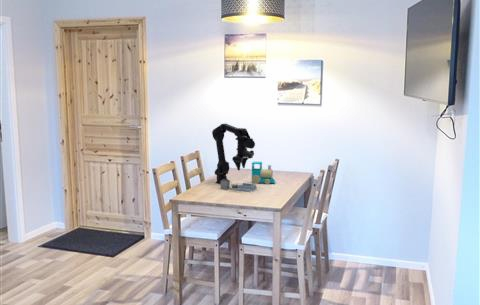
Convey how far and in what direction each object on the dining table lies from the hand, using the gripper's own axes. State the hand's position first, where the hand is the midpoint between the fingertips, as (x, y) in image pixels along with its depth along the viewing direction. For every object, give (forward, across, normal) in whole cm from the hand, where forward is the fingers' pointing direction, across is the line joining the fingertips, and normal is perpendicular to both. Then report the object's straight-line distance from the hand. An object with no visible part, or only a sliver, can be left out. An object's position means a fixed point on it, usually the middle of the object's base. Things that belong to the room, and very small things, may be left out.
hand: (241, 169), depth 322 cm
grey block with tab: (+13, -8, +8) cm, 18 cm away
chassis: (+13, -4, -3) cm, 14 cm away
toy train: (+13, +20, -10) cm, 26 cm away
